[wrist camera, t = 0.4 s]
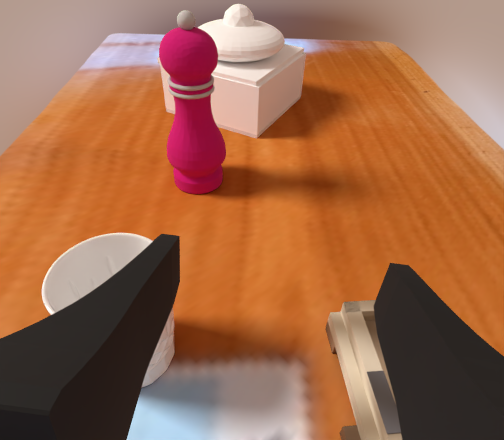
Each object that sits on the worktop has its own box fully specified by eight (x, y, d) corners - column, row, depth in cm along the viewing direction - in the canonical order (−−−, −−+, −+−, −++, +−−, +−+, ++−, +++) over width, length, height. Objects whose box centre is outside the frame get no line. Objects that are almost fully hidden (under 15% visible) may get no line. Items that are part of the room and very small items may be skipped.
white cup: (72, 340, 32) (28, 261, 25) (158, 297, 35) (140, 218, 29) (103, 422, 27) (60, 351, 20) (199, 363, 31) (189, 287, 24)
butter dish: (256, 139, 58) (261, 27, 47) (164, 111, 64) (149, 7, 54) (301, 98, 70) (312, 1, 59) (219, 78, 76) (216, -13, 65)
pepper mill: (212, 159, 53) (204, -1, 40) (235, 187, 48) (236, 15, 35) (163, 173, 50) (137, 5, 37) (183, 203, 46) (161, 24, 32)
